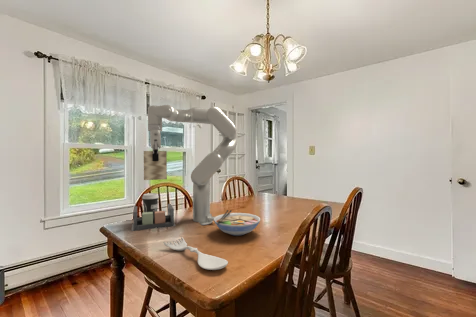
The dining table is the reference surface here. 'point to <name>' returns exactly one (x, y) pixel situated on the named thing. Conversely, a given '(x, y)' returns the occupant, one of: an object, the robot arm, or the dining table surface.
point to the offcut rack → (138, 221)
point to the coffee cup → (150, 202)
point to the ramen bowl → (236, 223)
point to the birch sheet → (155, 166)
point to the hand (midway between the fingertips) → (155, 160)
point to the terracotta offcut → (159, 217)
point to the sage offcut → (147, 218)
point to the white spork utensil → (200, 256)
